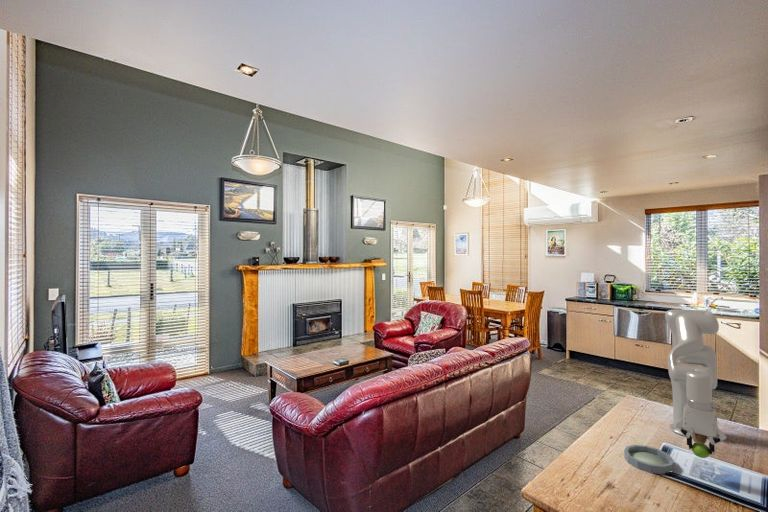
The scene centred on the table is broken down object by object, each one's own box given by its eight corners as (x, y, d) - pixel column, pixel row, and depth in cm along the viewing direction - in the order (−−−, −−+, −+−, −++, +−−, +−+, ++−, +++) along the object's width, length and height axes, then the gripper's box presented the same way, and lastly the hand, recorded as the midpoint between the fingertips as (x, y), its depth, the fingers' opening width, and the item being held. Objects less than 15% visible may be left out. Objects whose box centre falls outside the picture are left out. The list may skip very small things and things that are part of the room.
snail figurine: (685, 453, 147) (684, 424, 147) (701, 452, 148) (700, 422, 147) (698, 461, 142) (697, 430, 142) (714, 460, 142) (713, 429, 142)
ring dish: (630, 447, 168) (629, 441, 168) (676, 461, 156) (676, 454, 156) (620, 463, 156) (620, 456, 156) (669, 479, 144) (669, 471, 144)
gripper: (730, 406, 141) (731, 453, 141) (672, 395, 153) (674, 439, 153) (729, 413, 135) (730, 462, 136) (670, 401, 147) (671, 446, 148)
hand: (700, 449), depth 145 cm, fingers closed on snail figurine, 5 cm apart
